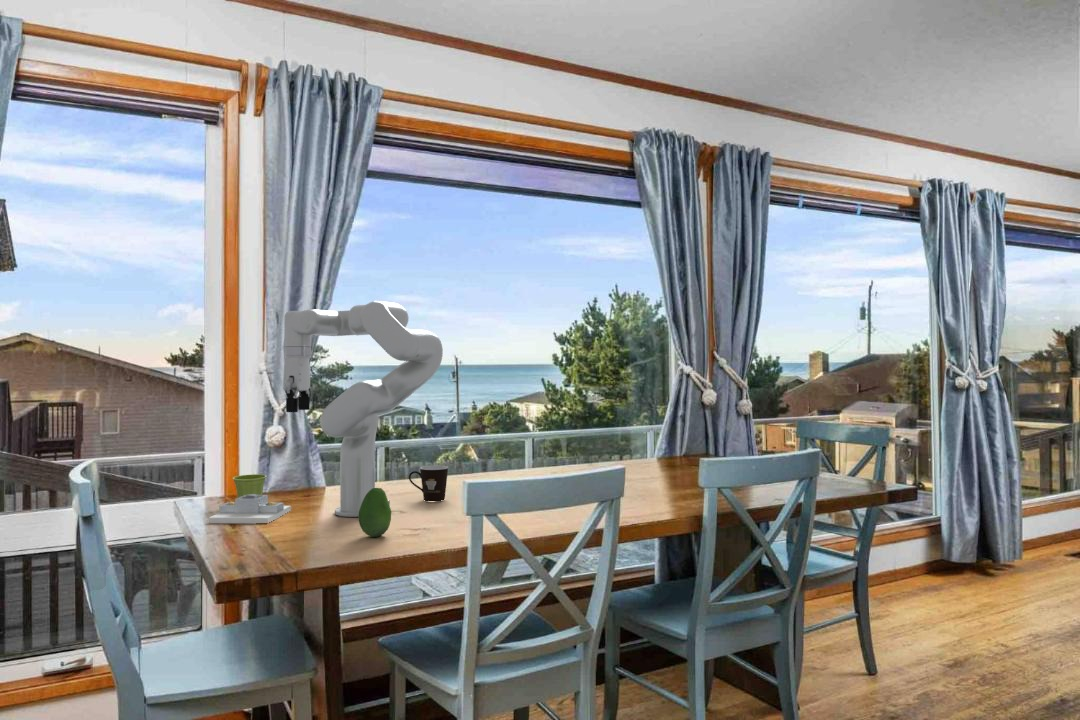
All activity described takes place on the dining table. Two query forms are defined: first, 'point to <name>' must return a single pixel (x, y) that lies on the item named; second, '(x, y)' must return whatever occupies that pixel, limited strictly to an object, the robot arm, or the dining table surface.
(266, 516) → the post block
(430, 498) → the coffee mug
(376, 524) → the avocado
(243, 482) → the plant pot
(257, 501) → the bracket
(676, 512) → the dining table surface
